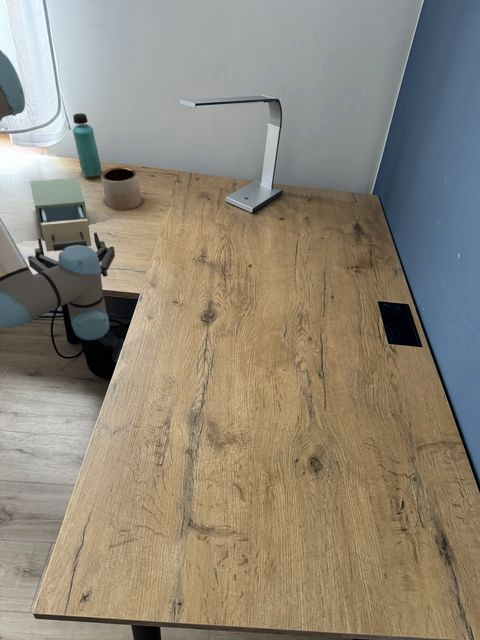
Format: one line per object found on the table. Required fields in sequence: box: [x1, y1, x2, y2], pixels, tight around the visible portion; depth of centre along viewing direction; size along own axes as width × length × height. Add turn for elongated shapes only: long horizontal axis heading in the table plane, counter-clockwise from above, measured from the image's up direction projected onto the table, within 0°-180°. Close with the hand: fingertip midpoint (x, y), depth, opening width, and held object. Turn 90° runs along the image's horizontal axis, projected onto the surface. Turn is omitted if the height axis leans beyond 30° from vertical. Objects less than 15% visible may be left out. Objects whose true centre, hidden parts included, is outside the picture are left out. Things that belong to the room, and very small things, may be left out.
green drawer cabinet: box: [29, 177, 88, 242], centre depth 142 cm, size 15×13×11 cm
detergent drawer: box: [41, 205, 92, 253], centre depth 134 cm, size 20×11×9 cm, turn 23°
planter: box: [100, 166, 142, 210], centre depth 155 cm, size 11×11×10 cm
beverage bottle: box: [72, 112, 102, 177], centre depth 163 cm, size 6×7×20 cm
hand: (68, 240), depth 130 cm, fingers open, 13 cm apart
